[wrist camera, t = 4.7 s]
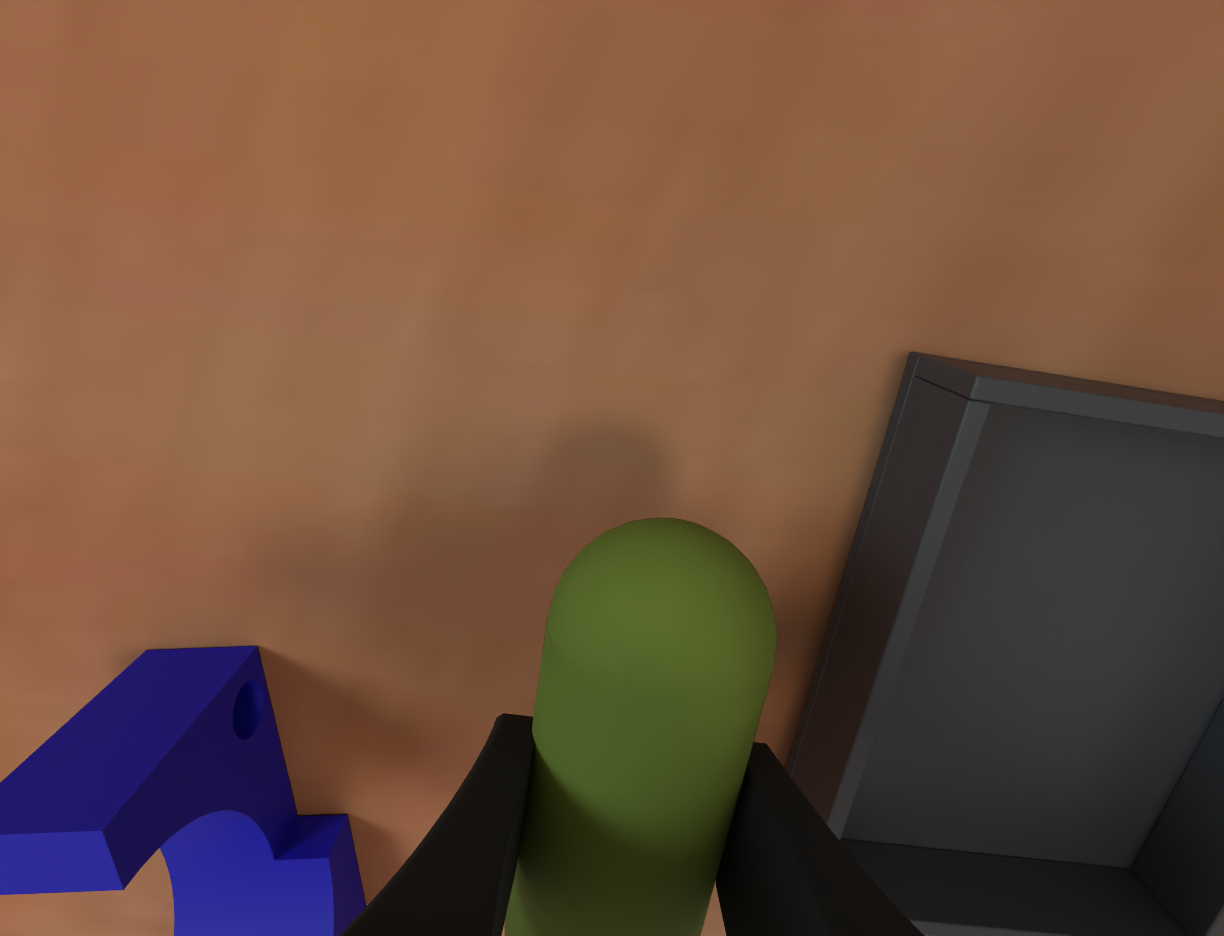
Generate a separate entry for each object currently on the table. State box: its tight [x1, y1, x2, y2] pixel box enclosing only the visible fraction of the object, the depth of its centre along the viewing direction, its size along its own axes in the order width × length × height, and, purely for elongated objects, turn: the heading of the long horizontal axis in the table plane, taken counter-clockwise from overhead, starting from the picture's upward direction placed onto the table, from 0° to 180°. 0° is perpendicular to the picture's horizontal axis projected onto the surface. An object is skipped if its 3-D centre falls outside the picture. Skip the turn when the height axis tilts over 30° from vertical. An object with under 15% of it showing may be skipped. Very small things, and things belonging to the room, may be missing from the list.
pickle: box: [505, 518, 777, 936], centre depth 12 cm, size 10×4×4 cm, turn 171°
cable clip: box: [0, 646, 366, 936], centre depth 17 cm, size 12×4×6 cm, turn 2°
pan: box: [785, 352, 1224, 936], centre depth 17 cm, size 15×12×3 cm
